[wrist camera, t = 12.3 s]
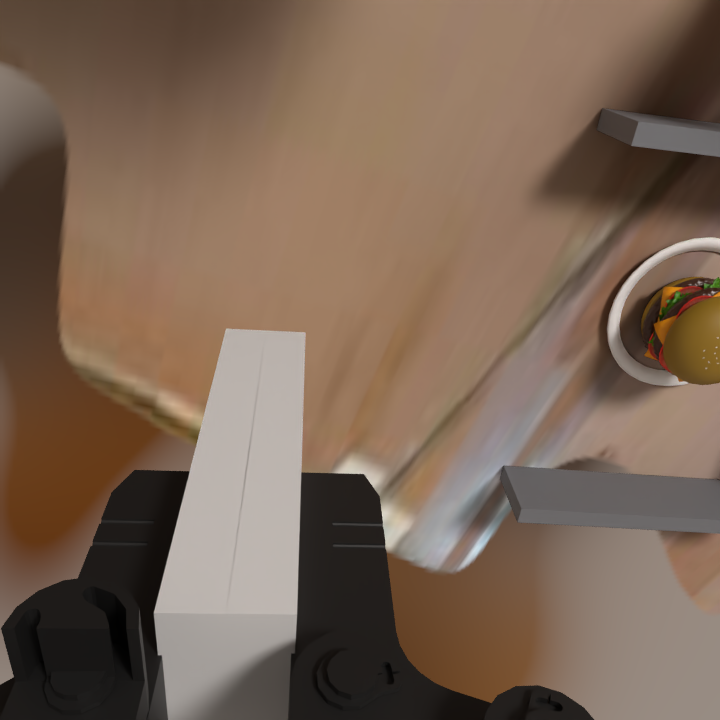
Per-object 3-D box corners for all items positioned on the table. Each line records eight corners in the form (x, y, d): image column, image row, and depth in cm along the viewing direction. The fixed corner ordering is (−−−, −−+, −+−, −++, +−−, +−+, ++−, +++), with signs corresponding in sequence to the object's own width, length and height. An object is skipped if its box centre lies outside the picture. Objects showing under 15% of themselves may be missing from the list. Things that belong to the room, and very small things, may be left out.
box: (602, 108, 32) (638, 121, 29) (923, 150, 34) (993, 167, 30) (500, 478, 42) (517, 522, 39) (751, 494, 44) (790, 537, 41)
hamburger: (831, 255, 37) (908, 293, 32) (696, 424, 42) (746, 479, 37) (656, 165, 34) (713, 193, 29) (533, 358, 39) (564, 409, 34)
